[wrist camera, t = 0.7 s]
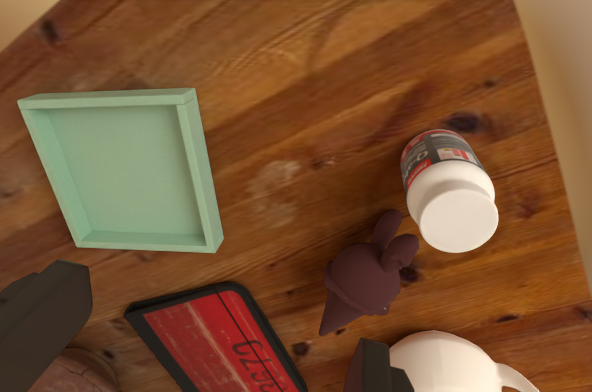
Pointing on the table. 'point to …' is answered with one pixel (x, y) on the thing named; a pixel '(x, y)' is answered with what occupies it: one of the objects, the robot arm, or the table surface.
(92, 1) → the table surface
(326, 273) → the icecream
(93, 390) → the pottery vessel
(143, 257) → the table surface
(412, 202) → the pill bottle
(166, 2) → the table surface
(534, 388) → the teapot
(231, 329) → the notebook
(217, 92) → the table surface
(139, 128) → the tray
